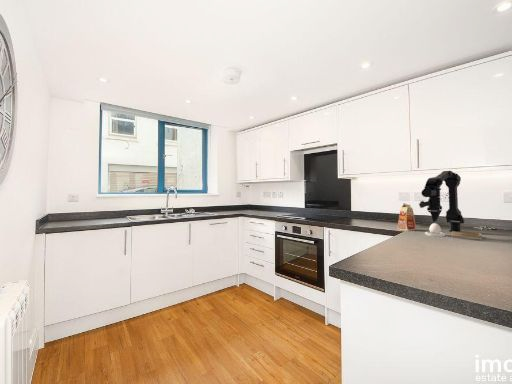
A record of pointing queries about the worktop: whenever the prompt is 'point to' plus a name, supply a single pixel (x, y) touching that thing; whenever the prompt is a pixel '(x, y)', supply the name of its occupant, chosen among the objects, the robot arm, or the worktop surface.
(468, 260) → the worktop surface
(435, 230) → the egg
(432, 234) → the white faceted hoop
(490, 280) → the worktop surface
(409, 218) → the milk carton
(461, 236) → the tray
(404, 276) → the worktop surface
